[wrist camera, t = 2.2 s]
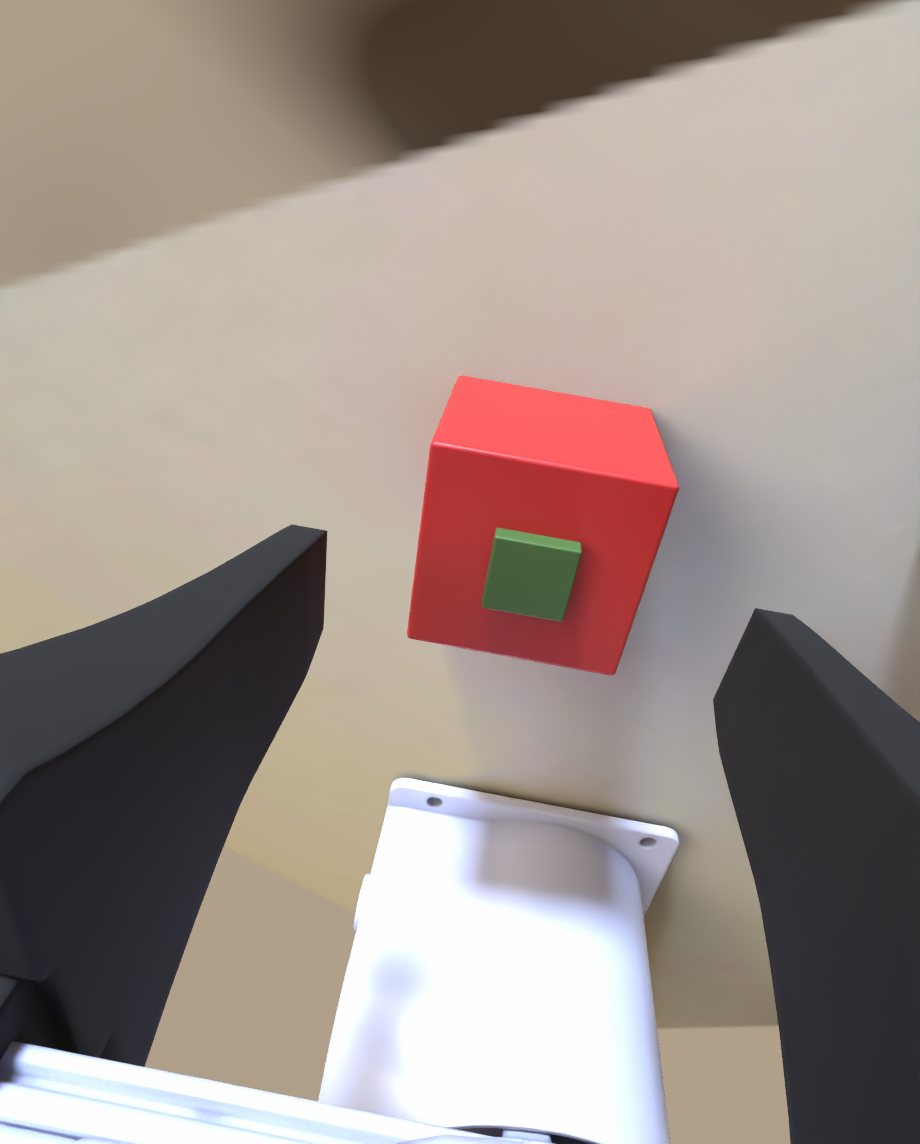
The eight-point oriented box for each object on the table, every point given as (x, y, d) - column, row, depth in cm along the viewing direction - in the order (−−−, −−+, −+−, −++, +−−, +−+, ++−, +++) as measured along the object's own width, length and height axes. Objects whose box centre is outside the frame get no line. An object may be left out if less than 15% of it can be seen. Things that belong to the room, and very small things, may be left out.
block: (435, 541, 18) (401, 651, 14) (458, 374, 15) (426, 450, 12) (602, 571, 18) (616, 690, 14) (651, 408, 15) (685, 496, 11)
